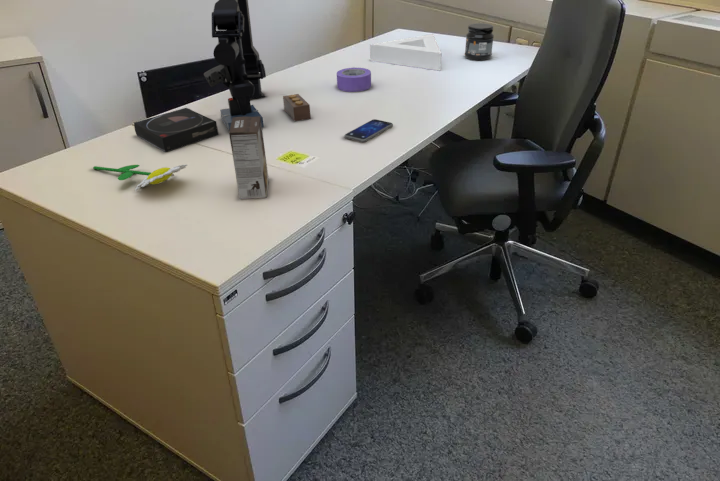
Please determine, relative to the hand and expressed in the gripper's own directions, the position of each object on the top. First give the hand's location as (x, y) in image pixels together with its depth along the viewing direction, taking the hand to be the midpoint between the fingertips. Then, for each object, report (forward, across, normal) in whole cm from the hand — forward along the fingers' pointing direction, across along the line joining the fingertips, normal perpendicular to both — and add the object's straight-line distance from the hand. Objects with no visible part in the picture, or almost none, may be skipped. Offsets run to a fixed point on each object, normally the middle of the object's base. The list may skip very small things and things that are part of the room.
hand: (240, 109), depth 161 cm
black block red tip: (+1, 0, 0) cm, 1 cm away
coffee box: (+4, +43, -7) cm, 44 cm away
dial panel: (+4, 0, 0) cm, 4 cm away
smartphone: (+4, +23, +31) cm, 39 cm away
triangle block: (+4, -39, +73) cm, 83 cm away
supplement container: (+4, -29, +101) cm, 105 cm away
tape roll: (+4, -17, +43) cm, 46 cm away
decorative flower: (+4, +26, -32) cm, 42 cm away
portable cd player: (+4, +1, -19) cm, 20 cm away
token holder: (+4, 0, +17) cm, 17 cm away
